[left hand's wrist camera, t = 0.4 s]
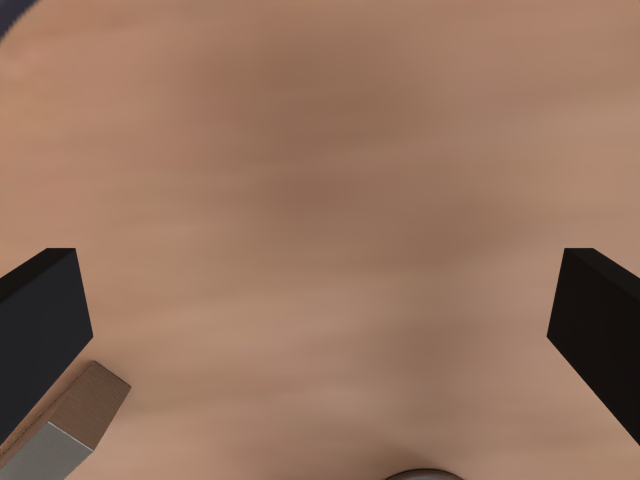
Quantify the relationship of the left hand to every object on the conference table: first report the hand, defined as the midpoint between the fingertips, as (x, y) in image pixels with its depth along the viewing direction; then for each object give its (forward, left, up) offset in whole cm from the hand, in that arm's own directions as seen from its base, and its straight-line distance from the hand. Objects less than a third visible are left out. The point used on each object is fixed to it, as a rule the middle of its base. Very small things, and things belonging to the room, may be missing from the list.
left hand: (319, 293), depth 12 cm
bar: (-35, +32, -32) cm, 57 cm away
